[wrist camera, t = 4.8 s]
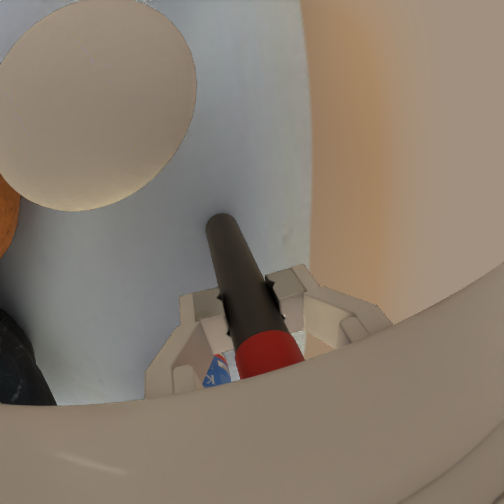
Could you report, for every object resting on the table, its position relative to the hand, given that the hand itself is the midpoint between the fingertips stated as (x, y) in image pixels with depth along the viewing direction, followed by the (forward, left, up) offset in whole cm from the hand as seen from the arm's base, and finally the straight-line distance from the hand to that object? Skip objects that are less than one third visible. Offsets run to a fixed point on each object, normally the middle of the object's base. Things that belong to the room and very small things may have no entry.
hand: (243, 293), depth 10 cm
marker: (0, 0, -6) cm, 6 cm away
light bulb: (-1, -8, -7) cm, 11 cm away
